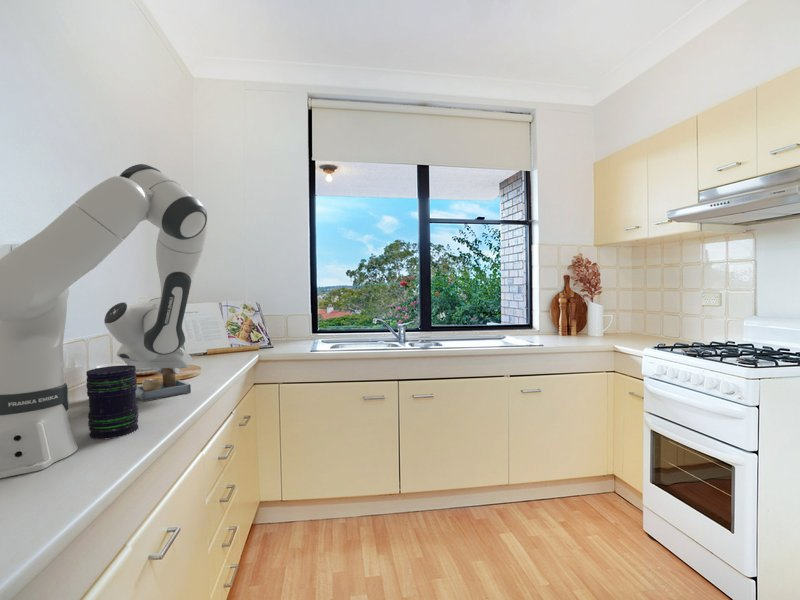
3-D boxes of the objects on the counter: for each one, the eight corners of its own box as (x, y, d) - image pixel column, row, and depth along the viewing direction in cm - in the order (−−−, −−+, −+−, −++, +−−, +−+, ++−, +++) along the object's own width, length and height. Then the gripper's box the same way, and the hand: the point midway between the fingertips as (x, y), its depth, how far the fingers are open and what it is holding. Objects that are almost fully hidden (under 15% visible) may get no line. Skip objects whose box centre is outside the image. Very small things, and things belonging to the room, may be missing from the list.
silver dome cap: (144, 394, 134) (143, 381, 134) (141, 392, 136) (141, 380, 136) (155, 392, 136) (154, 379, 136) (152, 390, 139) (151, 378, 138)
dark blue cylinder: (79, 441, 96) (76, 374, 95) (101, 427, 105) (98, 366, 105) (129, 437, 98) (125, 371, 97) (145, 423, 107) (143, 364, 107)
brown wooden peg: (165, 388, 136) (163, 362, 136) (161, 386, 139) (160, 361, 138) (177, 385, 138) (176, 361, 138) (173, 384, 141) (172, 360, 141)
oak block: (146, 397, 131) (146, 383, 130) (143, 394, 133) (142, 382, 133) (161, 394, 133) (160, 381, 133) (157, 392, 136) (156, 379, 136)
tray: (142, 401, 129) (142, 392, 129) (133, 395, 136) (133, 387, 136) (190, 392, 138) (190, 384, 138) (179, 387, 146) (179, 379, 146)
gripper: (182, 337, 129) (203, 364, 139) (122, 338, 133) (146, 363, 143) (173, 355, 125) (195, 380, 135) (111, 355, 128) (137, 380, 138)
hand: (169, 372), depth 139 cm, fingers closed on brown wooden peg, 3 cm apart
